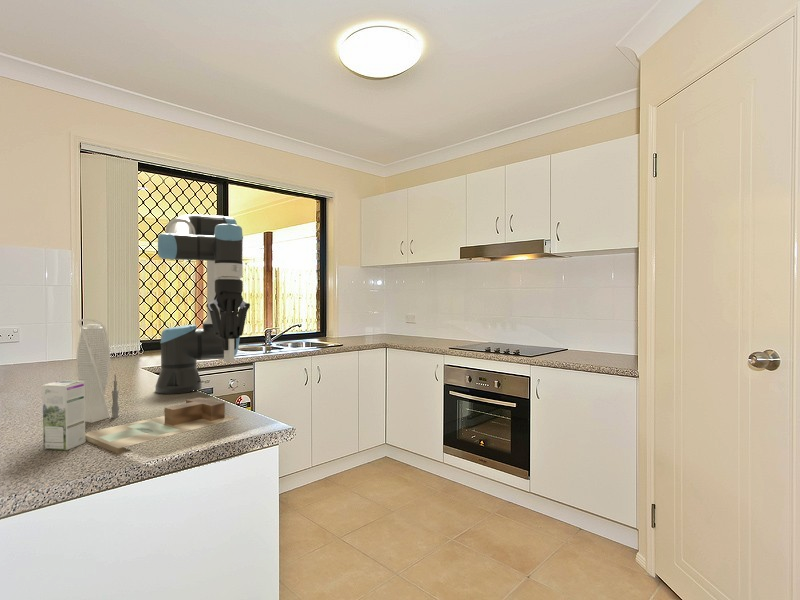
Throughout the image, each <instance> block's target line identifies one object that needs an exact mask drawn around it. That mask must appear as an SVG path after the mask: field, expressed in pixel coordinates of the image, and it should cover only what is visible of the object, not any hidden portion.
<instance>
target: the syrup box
mask: <svg viewBox="0 0 800 600" xmlns="http://www.w3.org/2000/svg"><path fill="white" fill-rule="evenodd" d="M41 389H42V439H43V442H42V444H43V446H42V447H43V448H42V449H43V450H47V451H48V450H49V451H50V450H52V451H53V450H54V451H69V450H71V449H73V448H74V449H75V448H76V447H78V446H81V445H83V444H85V443H86V442H87V441H86V439H85V433H86V422H85V382H84V381H78V380H57V381H51V382H49V383H45V384H42V388H41Z"/></svg>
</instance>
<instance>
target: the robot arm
mask: <svg viewBox="0 0 800 600" xmlns="http://www.w3.org/2000/svg"><path fill="white" fill-rule="evenodd" d="M164 232H165V233H163V232H162V233H159V234H158V237H157V255H158V257H159V258H160V259H162V260H170V261H175V260H179V261H180V260H183V261H206V301H207V302H206V305H205V307H206V312H207V313H206V320H204V322H202V328H200V327H199V328H198V327H197V325H196V324H186V325H179V326H178V325H177V326H174V327H167V328H164V329H163V330H162V332H161V337H160V342H159V343H160V372H159V375H158V377H157V380H156V383H155V393H158V394H164V395H166V394H167V395H168V394H169V395H170V394H171V395H173V394H184V393H191V392H190V391H192V392H194V391H193V390H196V391H200V390H202V387H203V385H202V384H203V383H202V379H201V376H200V374H199V370H198V368H197V361H200V360H201V361H203V360H223V362H224V363H225V362H226V363H233V362H235V357H236V356H237V353H238V352H239V351H238V350H239V346H240V339H241V336H243V334H244V329H245V324H246V320H247V313H248V311H249V309H250V306H251V303H249V302H245V300H244V298H243V295H242V294H243V291H244V287H243V285H244V284H243V283H244V282H243V280H242V278H243V274H244V273H243V272H244V271H243V270H244V269H243V267H244V266H243V240H244V236H243V228H242V227H241V225H238V224H237V221H236V219H235V218H233V217H232V216H231V217H230V216H224V215H211V214H197V213H190V214H183V215H179V216H176V217H174V218H172V219H171V220H170V221H168V222H167V224H166V226H165V231H164ZM196 391H195V392H196Z"/></svg>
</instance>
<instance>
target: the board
mask: <svg viewBox="0 0 800 600" xmlns="http://www.w3.org/2000/svg"><path fill="white" fill-rule="evenodd" d="M234 420H239V417H237V416H232V415H228V414H225V418H222V419H217V420H213V421H209V420H205V419H199V420H195V421H191V422H186V423H182V424H178V425H174V426H172V425H169V424H166V423H165V415H161V416H157V417H153V418H152V417H151V418H148V419H143V420H138V421H134V422H130V423H124V424H119V425H115V426H110V427H105V428H100V429H95V430H90V431H87V432H86V431H85V439H86V442H89V443H91V444H94V445H95V446H98V447H101V448H103V449H104V450H108V451H109V452H112V453H114V454H117V455H120V454H124V453H127V452H131V451H132V449H128V448H126V447H130V446H135V445H138V444H139V445H140V444H142V443H147V442H149V441H150V442H151V441H154V440H159V439H163V438H166V437H171V436H174V435H178V434H181V433H182V434H183V433H186V432H190V431H194V430H199V429H202V428H206V427H210V426H213V425H218V424H222V423H226V422H230V421H234Z"/></svg>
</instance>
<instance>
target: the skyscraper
mask: <svg viewBox="0 0 800 600" xmlns="http://www.w3.org/2000/svg"><path fill="white" fill-rule="evenodd" d="M77 322H78V325H79V328H80V334H79V338H78V343H77V351H76V359H75V360H76V362H75V363H76V364H75V365H76V376H77V381H84V382H85V423H90V424H93V423H95V422H99V421H102V420H106V419H110V413H109V409H108V405H107V401H106V398H105V394H106V390H107V387H108V386H107V385H108V381H109V376H110V371H111V349H110V343H109V339H108V338H109V337H108V333H107V329H106V326H105V325H104V324H103V323H102V322H100V321H99V320H96V319H91V318H81V319H79V320H77ZM82 322H93V323H87V324H86V323H85V324H82ZM119 392H120V391H119V389H118V381H117V374H114V380H113V390H111V395H112V396H111V397H112V405H111V417H112V419H113V418H114V419H115V418H119V413H120V406H119Z"/></svg>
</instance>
